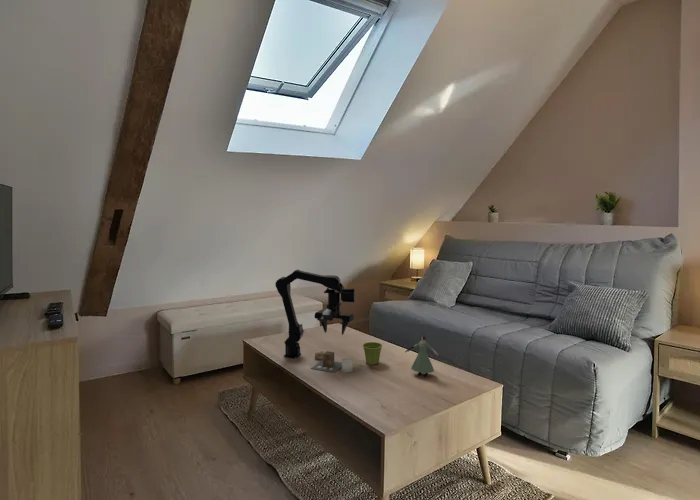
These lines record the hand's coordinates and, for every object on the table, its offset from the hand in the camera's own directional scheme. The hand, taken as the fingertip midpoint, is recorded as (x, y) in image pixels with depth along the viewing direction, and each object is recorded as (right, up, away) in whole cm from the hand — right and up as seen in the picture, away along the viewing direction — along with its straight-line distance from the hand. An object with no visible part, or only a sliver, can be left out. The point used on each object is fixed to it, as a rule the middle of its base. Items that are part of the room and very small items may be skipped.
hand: (334, 333), depth 225 cm
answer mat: (-2, -13, -11) cm, 18 cm away
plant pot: (+18, -13, -6) cm, 23 cm away
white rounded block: (+6, -14, -17) cm, 23 cm away
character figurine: (+39, -15, -21) cm, 47 cm away
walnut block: (-2, -13, -11) cm, 17 cm away
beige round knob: (-7, -12, 0) cm, 14 cm away
